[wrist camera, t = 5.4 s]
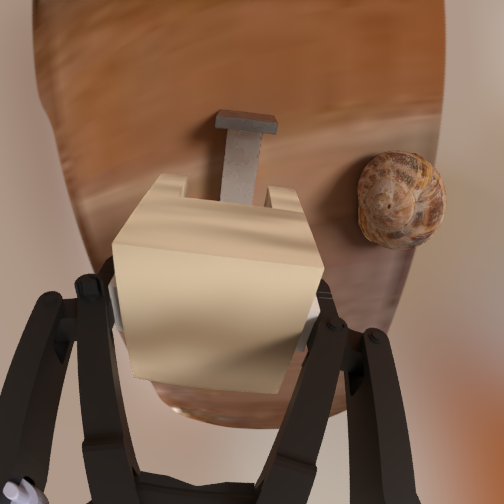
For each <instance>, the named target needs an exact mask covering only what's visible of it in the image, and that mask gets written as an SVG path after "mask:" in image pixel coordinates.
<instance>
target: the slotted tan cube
mask: <svg viewBox="0 0 504 504" xmlns="http://www.w3.org/2000/svg"><path fill="white" fill-rule="evenodd" d="M187 183H188V176H185V175H174V174H163V173H161V175H160V176H159V177H158V179H157V180H156V181H155V183H154V184H153V185H152V187H151V188H150V189H149V191H148V192H147V193H146V195H145V196H144V197H143V199H142V200H141V202H140V203H139V204H138V206H137V207H136V209H135V210H134V211H133V213H132V214H131V216H130V217H129V219H128V220H127V221H126V223H125V224H124V226H123V227H122V229H121V230H120V232H119V233H118V235H117V236H116V238H115V239H114V241H113V242H112V250H113V260H114V268H115V276H116V284H117V291H118V298H119V304H120V311H121V317H122V322H123V328H124V333H125V339H126V344H127V349H128V353H129V358H130V363H131V367H132V371H133V376H134V378H138V379H145V380H150V381H156V382H162V383H169V384H175V385H183V386H191V387H199V388H208V389H218V390H229V391H242V392H258V393H278V391H279V388H280V386H281V384H282V381H283V379H284V376H285V374H286V371H287V369H288V366H289V364H290V361H291V359H292V356H293V354H294V351H295V349H296V346H297V343H298V341H299V338H300V336H301V333H302V330H303V328H304V325H305V322H306V319H307V317H308V314H309V311H310V308H311V306H312V303H313V300H314V297H315V294H316V292H317V289H318V286H319V283H320V280H321V277H322V274H323V271H324V266H323V263H322V260H321V257H320V255H319V252H318V249H317V246H316V244H315V241H314V238H313V236H312V233H311V230H310V228H309V225H308V222H307V220H306V217H305V214H304V212H303V209H302V207H301V204H300V202H299V199H298V197H297V194H296V191H295V190H294V189H288V188H281V187H274V186H268V189H267V194H266V200H265V205H264V207H260V206H253V205H245V204H237V203H229V202H221V201H212V200H204V199H195V198H186V197H187Z"/></svg>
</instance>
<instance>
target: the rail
mask: <svg viewBox="0 0 504 504" xmlns="http://www.w3.org/2000/svg"><path fill="white" fill-rule="evenodd" d="M277 126H278V123H277V121H276V119H275V117H274V116H271V115H264V114H256V113H248V112H240V111H230V110H220V111H219V112H218V114H217V115H216V121H215V128H224V129H228V131H227V140H226V149H225V158H224V167H223V176H222V186H221V196H220V201H221V202H229V203H237V204H245V205H252V199H253V193H254V186H255V179H256V173H257V166H258V159H259V153H260V146H261V140H262V133H266V134H273V135H276V132H277Z"/></svg>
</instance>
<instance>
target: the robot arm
mask: <svg viewBox="0 0 504 504" xmlns="http://www.w3.org/2000/svg"><path fill="white" fill-rule="evenodd" d="M75 289H76V293H77V298H74V299H62V296H61V294H60V293H58V292H55V291H49V292H46V293H44V294H43V295H41V296H40V297H39V299H38V300H37V302H36V304H35V306H34V309H33V311H32V313H31V315H30V317H29V320H28V322H27V324H26V327H25V329H24V331H23V334H22V336H21V339H20V342H19V344H18V346H17V349H16V351H15V354H14V357H13V359H12V362H11V365H10V368H9V371H8V373H7V376H6V380H5V382H4V386H3V389H2V392H1V395H0V504H49V501H48V499H47V497H46V496H45V494H44V493H43V492H44V489H45V485H46V482H47V476H48V470H49V461H50V454H51V446H52V440H53V433H54V427H55V421H56V416H57V411H58V406H59V401H60V396H61V391H62V387H63V383H64V379H65V374H66V370H67V366H68V362H69V359H70V354H71V351H72V347H73V344H74V341H77V356H78V357H77V358H78V379H79V393H80V404H81V414H82V423H83V431H84V441H83V443H82V452H83V458H84V463H85V469H86V474H87V479H88V484H89V489H90V493H91V498H92V500H91V501H90V502H88V503H87V504H306V503H307V500H308V497H309V495H310V492H311V488H312V486H313V482H314V479H315V476H316V472H317V467H316V460H317V456H318V453H319V450H320V446H321V443H322V439H323V436H324V432H325V429H326V425H327V421H328V418H329V414H330V410H331V406H332V402H333V398H334V394H335V389H336V385H337V381H338V376H339V372H340V370H342V371H344V379H345V391H346V404H347V418H348V419H347V420H348V438H349V464H350V465H349V466H350V504H421V503H420V500H419V498H418V496H417V494H416V489H415V479H414V470H413V463H412V455H411V448H410V441H409V435H408V429H407V423H406V417H405V411H404V406H403V401H402V396H401V391H400V386H399V381H398V376H397V372H396V368H395V363H394V359H393V355H392V350H391V346H390V342H389V339H388V337H387V335H386V334H385V333H384V332H383V331H381V330H380V329H377V328H368V329H366V330H365V332H364V333H360V332H357V331H354V330H351V329H349V328H348V326H347V324H346V322H345V321H344V320H342V319H341V318H339V316H338V313H337V310H336V307H335V304H334V301H333V298H332V294H331V291H330V288H329V286H328V284H327V283H326V282H325V281H324V280H323V279H321V280H320V283H319V286H318V289H317V292H316V294H315V297H314V300H313V303H312V306H311V308H310V311H309V314H308V317H307V319H306V322H305V325H304V328H303V330H302V333H301V336H300V338H299V341H298V343H297V346H296V349H295V351H304V349H305V347H306V345H307V348H308V352H307V355H306V357H305V359H304V361H303V364H302V369H301V372H300V375H299V377H298V380H297V383H296V386H295V389H294V392H293V394H292V397H291V400H290V403H289V405H288V408H287V411H286V413H285V416H284V418H283V421H282V424H281V426H280V429H279V432H278V434H277V437H276V439H275V442H274V444H273V446H272V449H271V451H270V454H269V456H268V458H267V461H266V463H265V466H264V468H263V470H262V473H261V475H260V477H259V479H258V480H257V482H256V484H255V486H254V483H236V482H224V483H218V484H210V485H203V486H194V485H191V484H189V483H186V482H183V481H180V480H177V479H175V478H172V477H170V476H166V475H159V474H153V473H148V472H143V471H141V472H140V469H139V466H138V463H137V460H136V457H135V453H134V449H133V445H132V441H131V436H130V432H129V428H128V423H127V418H126V414H125V409H124V403H123V398H122V394H121V388H120V381H119V375H118V368H117V361H116V354H115V346H114V338H113V333H112V328H113V325H114V323H115V326H116V330H118V331H124V328H123V322H122V317H121V311H120V304H119V298H118V291H117V284H116V276H115V268H114V260H113V255H112V256H111V257H110V258H108V259H107V260H106V261H105V263H104V265H103V267H102V268H101V270H100V273H98V275H96V274H85V275H82V276H80V277H79V278H78V279H77V280H76V281H75Z"/></svg>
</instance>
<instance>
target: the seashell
mask: <svg viewBox="0 0 504 504" xmlns="http://www.w3.org/2000/svg"><path fill="white" fill-rule="evenodd" d="M357 193H358V201H359V208H358V216H359V226H360V228H361V230H362V232H363V234H364V236H365V237H366V238H367V239H368V240H369V241H371V242H375V243H377V244H379V245H380V246H382V247H385V248H388V249H392V250H406V249H411V248H414V247H417V246H419V245H421V244H423V243H425V242H426V241H427V240H428V239H429V238H431V237H432V236H433V235H434V233H435V232H436V231H437V230H438V228H439V227H440V225H441V223H442V220H443V218H444V214H445V210H446V191H445V186H444V183H443V180H442V178H441V176H440V174H439V173H438V171H437V170H436V169H435V168H434V167H433V165H431V164H430V163H429V162H427V161H426V160H425V159H423V158H422V157H421V156H419V155H417V154H415V153H408V152H404V151H388V152H384V153H382V154H379V155H378V156H376V157H375V158H374V159H373V160H371V161H370V162H369V163H368V164H367V165H366V167H365V168H364V170H363V171H362V173H361V176H360V179H359V182H358V189H357Z"/></svg>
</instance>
